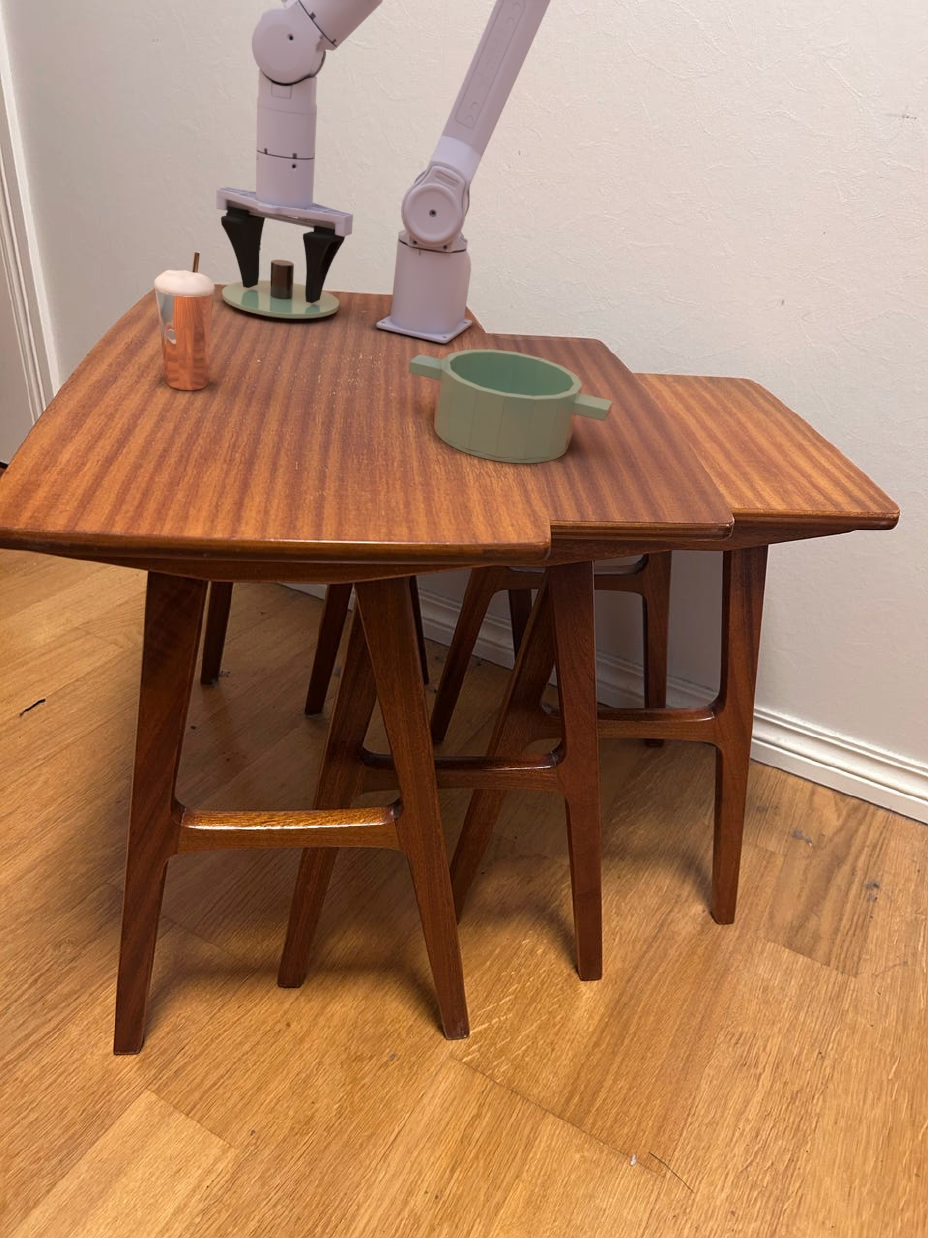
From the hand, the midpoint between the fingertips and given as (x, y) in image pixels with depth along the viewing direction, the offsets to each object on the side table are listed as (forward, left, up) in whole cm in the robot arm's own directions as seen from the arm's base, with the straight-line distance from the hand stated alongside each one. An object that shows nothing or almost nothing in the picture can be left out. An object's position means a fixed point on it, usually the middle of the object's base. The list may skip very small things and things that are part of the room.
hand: (281, 293), depth 99 cm
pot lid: (0, 0, -1) cm, 1 cm away
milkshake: (+26, +5, -2) cm, 27 cm away
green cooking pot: (+20, +31, -1) cm, 37 cm away
